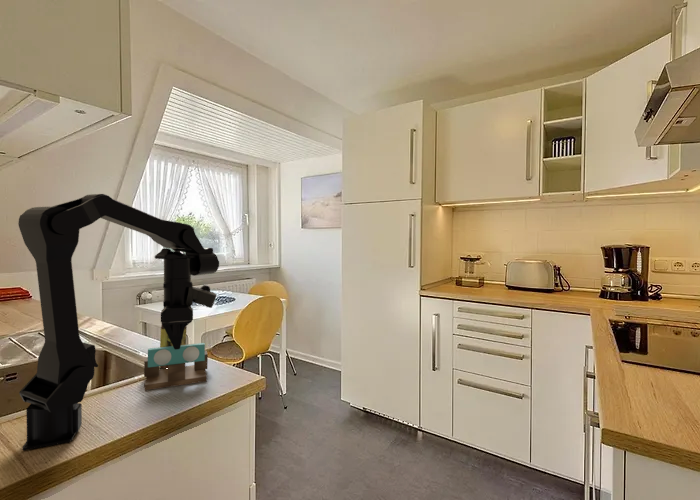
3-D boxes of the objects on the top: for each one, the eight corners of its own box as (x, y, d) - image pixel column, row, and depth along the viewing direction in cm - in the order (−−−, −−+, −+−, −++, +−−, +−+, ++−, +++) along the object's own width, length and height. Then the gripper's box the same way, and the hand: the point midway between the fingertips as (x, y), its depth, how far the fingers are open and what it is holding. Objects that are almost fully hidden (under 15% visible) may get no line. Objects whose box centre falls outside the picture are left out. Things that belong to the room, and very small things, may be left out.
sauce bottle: (166, 372, 91) (166, 295, 90) (155, 366, 94) (155, 292, 94) (190, 365, 96) (191, 292, 95) (179, 360, 100) (179, 289, 99)
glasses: (147, 367, 80) (147, 350, 80) (150, 356, 87) (150, 340, 87) (204, 360, 86) (204, 344, 85) (202, 351, 93) (202, 335, 92)
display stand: (142, 390, 80) (142, 369, 79) (145, 376, 88) (145, 356, 88) (208, 381, 86) (208, 360, 86) (206, 368, 94) (206, 349, 94)
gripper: (217, 281, 78) (217, 351, 79) (211, 272, 95) (210, 330, 95) (160, 283, 73) (160, 357, 74) (164, 273, 90) (164, 334, 91)
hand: (177, 343), depth 84 cm, fingers open, 9 cm apart
